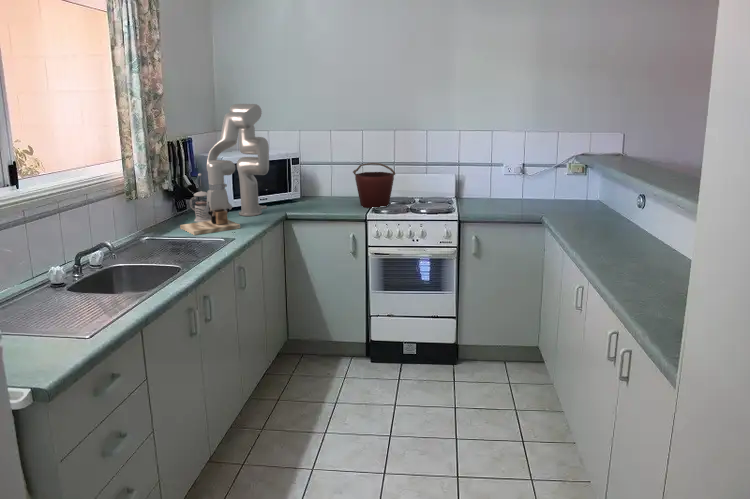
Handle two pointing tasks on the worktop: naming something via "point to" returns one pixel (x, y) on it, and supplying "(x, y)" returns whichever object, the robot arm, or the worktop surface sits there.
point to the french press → (201, 207)
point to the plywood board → (208, 227)
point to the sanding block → (221, 217)
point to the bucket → (374, 187)
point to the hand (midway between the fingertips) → (219, 222)
